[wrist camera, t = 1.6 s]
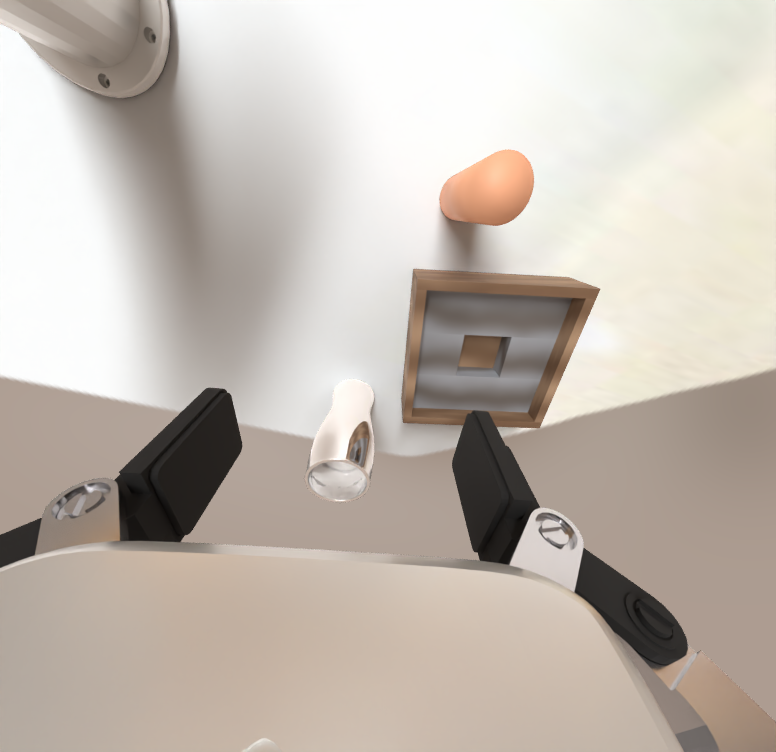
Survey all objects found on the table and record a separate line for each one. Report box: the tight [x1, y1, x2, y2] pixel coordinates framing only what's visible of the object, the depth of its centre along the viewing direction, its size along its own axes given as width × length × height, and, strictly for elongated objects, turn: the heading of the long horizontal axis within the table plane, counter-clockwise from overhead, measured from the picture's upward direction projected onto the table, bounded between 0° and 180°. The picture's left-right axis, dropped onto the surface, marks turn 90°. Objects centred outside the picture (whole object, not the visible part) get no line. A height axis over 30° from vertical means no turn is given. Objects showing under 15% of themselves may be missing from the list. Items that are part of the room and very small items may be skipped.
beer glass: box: [305, 379, 374, 502], centre depth 34 cm, size 7×7×15 cm
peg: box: [440, 150, 534, 226], centre depth 23 cm, size 4×4×12 cm
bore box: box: [401, 269, 600, 428], centre depth 34 cm, size 18×18×6 cm
